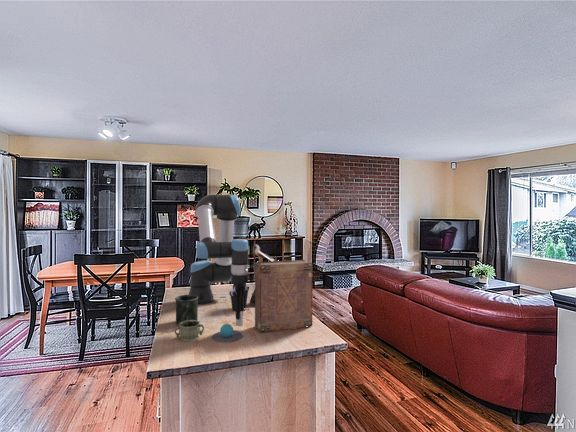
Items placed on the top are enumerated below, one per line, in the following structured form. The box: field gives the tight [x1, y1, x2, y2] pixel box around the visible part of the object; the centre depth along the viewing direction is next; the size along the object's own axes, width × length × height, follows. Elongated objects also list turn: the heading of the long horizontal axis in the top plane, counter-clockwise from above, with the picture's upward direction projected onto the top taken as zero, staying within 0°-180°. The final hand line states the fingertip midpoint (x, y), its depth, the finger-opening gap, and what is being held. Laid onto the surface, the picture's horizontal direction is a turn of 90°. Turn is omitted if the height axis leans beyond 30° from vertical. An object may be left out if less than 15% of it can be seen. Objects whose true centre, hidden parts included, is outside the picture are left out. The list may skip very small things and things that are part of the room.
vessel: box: [174, 320, 205, 342], centre depth 143 cm, size 12×9×6 cm
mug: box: [174, 294, 199, 326], centre depth 161 cm, size 11×15×12 cm
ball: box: [219, 323, 234, 338], centre depth 144 cm, size 6×6×6 cm
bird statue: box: [249, 243, 276, 307], centre depth 197 cm, size 17×13×35 cm
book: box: [254, 259, 314, 334], centre depth 158 cm, size 25×9×30 cm, turn 112°
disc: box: [211, 330, 244, 343], centre depth 145 cm, size 13×13×1 cm
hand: (239, 325), depth 154 cm, fingers closed
